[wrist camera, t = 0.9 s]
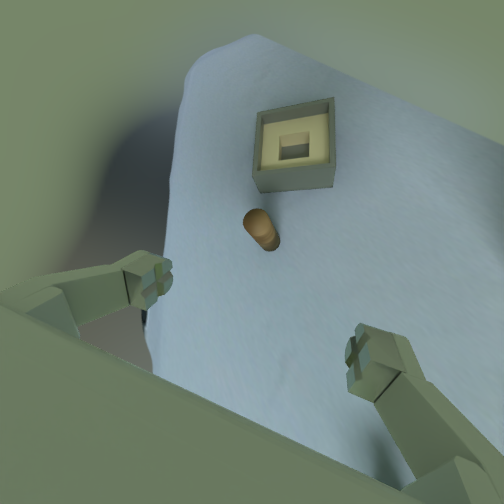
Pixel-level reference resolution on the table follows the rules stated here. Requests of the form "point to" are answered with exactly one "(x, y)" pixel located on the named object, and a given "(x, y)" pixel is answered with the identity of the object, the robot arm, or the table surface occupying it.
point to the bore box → (295, 147)
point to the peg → (261, 229)
